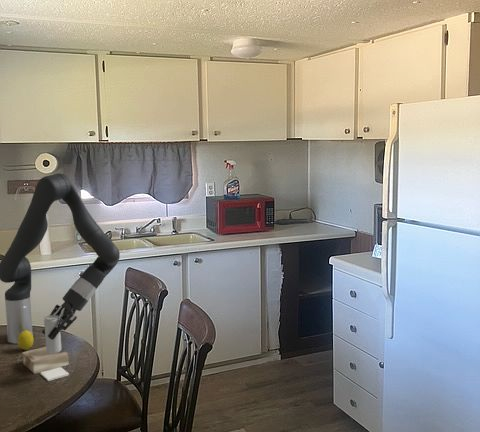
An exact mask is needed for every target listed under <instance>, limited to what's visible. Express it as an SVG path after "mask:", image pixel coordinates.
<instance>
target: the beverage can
mask: <svg viewBox="0 0 480 432" xmlns="http://www.w3.org/2000/svg"><path fill="white" fill-rule="evenodd" d="M58 318H59V316H58V315H50V314H49V315H46V316H45V317H44V319H43V321H44V322H43V325H44V328H45V334H44V339H45V347H46V351H47V353H49V354H56V353H61V351H62V337H61V331H60V332H59V333H58V334H57V336H56V337H55V338H54V339H53V340H52V339H50V338H49V337H48V335H49V333H50V332H51V331H52V329H53V328H54V327H55V326H56V324H57V322H58ZM55 328H56V327H55Z"/></svg>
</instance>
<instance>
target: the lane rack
mask: <svg viewBox="0 0 480 432" xmlns="http://www.w3.org/2000/svg"><path fill="white" fill-rule="evenodd" d="M21 355H22V363H23V365H24V366H25V367H27V369H28V370H29V371H31V372H32V373H33V374H34V375H36V374H39V373H40V374H41V372H44V371H48V370H52V369H55V368H59V367H61V368H63V367H65V366H68V365H70V363H69V362H70V361H69V359H70V358H69V357H70V356H69V353H68V352H67V351H63V352H59V353H56V354H49V353H47V351H46V346H44V347H39V348H36V349H30V350H25V351H24V352H23V351H22V354H21Z"/></svg>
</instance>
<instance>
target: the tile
mask: <svg viewBox="0 0 480 432" xmlns="http://www.w3.org/2000/svg"><path fill="white" fill-rule="evenodd" d="M40 375H41V376H42V377H43V378H44V379H45V380H46V381H48V382H50V381H53V380H56V379H60V378H64V377H68V376H70V373H69V372H68V371H67V370H65V369H64V368H63V367H58V368H55V369H51V370H47V371H44V372H40Z"/></svg>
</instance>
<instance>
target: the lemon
mask: <svg viewBox="0 0 480 432" xmlns="http://www.w3.org/2000/svg"><path fill="white" fill-rule="evenodd" d="M33 344H34V335H32V333H31V332H30V331H27V330H24V331H22V332H21V333H20V334H19V336H18V343H17V345H18V347H19V348H20V349H22V350H24V351H29V349H30V348H32V347H33Z"/></svg>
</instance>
